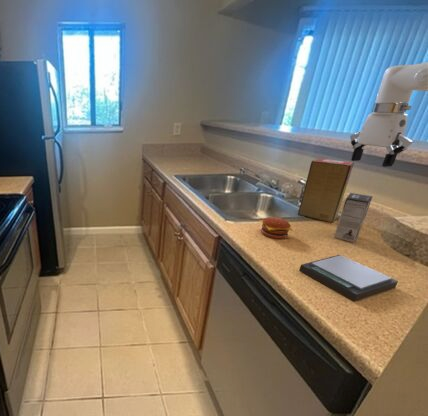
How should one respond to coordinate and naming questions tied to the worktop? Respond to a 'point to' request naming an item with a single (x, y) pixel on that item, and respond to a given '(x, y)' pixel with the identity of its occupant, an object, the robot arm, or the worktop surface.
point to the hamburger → (275, 227)
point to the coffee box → (352, 216)
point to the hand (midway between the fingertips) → (370, 163)
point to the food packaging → (325, 189)
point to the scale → (348, 277)
